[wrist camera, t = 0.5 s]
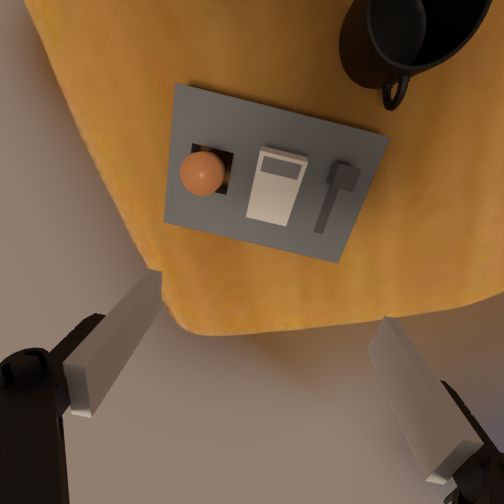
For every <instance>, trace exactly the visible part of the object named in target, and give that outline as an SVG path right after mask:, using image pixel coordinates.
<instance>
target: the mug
mask: <svg viewBox="0 0 504 504" xmlns="http://www.w3.org/2000/svg"><path fill="white" fill-rule="evenodd" d="M491 2H492V0H354V2H353V4H352V5H351V7H350V9H349V11H348V12H347V14H346V17H345V19H344V22H343V24H342V28H341V32H340V39H339V52H340V58H341V62H342V65H343V67H344V69H345V71H346V73H347V74H348V76H349V77H350V78H351V79H352V80H353V81H354V82H355V83H357V84H359V85H360V86H363V87H365V88H370V89H380V88H382V90H383V104H384V107H385V109H386V110H391V111H393V110H394V109H396V108H397V107H398V106H399V105H400V103H401V102H402V100H403V98H404V96H405V93H406V90H407V86H408V82H409V81H410V77H412V76H414V75H417V74H419V73H421V72H424V71H426V70H428V69H431V68H433V67H435V66H437V65H439V64H441V63H443V62H444V61H446V60H448V59H449V58H450V57H452V56H453V55H455V54H456V53H457V52H458V51H459V50H460V49H461V48H462V47H463V46H464V45H465V44H466V43H467V42H468V41H469V40H470V39H471V38H472V36H473V35H474V34H475V32H476V31H477V29H478V28H479V26H480V25H481V23H482V21H483V20H484V18H485V16H486V14H487V12H488V10H489V7H490V5H491ZM396 83H399V84H398V88H397V92H396V95H395V97H394V99H393V100H391V89H392V88H393V85H394V84H396Z"/></svg>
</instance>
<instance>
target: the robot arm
mask: <svg viewBox="0 0 504 504" xmlns="http://www.w3.org/2000/svg"><path fill="white" fill-rule="evenodd" d="M161 286H162V272H161V271H156V270H151V269H149V270H148V271H147V272H146V273H145V274H144V275H143V276H142V277H141V278H140V280H139V281H138V282H137V283H136V284H135V285H134V286H133V287H132V288H131V289H130V290H129V291H128V292H127V294H126V295H125V296H124V297H123V298H122V299H121V300H120V301H119V302H118V303H117V304H116V305H115V307H114V308H113V309H112V310H111V311H110V312H109V313H108V314H107V315H102V314H97V313H94V314H93V315H91V316H89V317H87V318H85V319H83V321H81V322H80V323H79V324H78V325H77V326H76V327H75V329H74V330H72V331H71V332H70V333H69V334H68V335H67V337H65V338H64V339H63V340H62V341H61V342H60V343H59V344H58V345H57V346H56V347H55V348H54V349H52V351H50V352H48V351H46V350H45V349H43V348H28V349H24V350H21V351H18V352H15V353H13V354H12V355H10V356H8V357H7V358H5V359H4V360H3V361H2V362H1V363H0V504H70V502H69V490H68V477H67V465H66V453H65V442H64V429H63V418H62V414H63V413H64V412H65V410H66V409H67V408H68V406H69V405H70V408H71V413H72V414H74V415H80V416H85V417H90V418H92V416H93V414H94V413H95V411H96V410H97V408H98V407H99V405H100V404H101V402H102V401H103V399H104V397H105V396H106V394H107V393H108V391H109V390H110V388H111V386H112V385H113V383H114V382H115V380H116V379H117V377H118V375H119V374H120V372H121V371H122V369H123V368H124V366H125V365H126V363H127V361H128V360H129V358H130V357H131V355H132V354H133V352H134V350H135V349H136V347H137V346H138V344H139V343H140V341H141V340H142V338H143V336H144V334H145V333H146V332H147V330H148V329H149V327H150V325H151V324H152V322H153V320H154V319H155V317H156V316H157V314H158V313H159V311H160V306H161ZM367 352H368V355H369V357H370V359H371V362H372V364H373V366H374V368H375V370H376V373H377V375H378V377H379V379H380V382H381V384H382V386H383V388H384V391H385V393H386V395H387V397H388V400H389V402H390V404H391V406H392V408H393V411H394V413H395V415H396V417H397V420H398V422H399V424H400V426H401V428H402V431H403V433H404V435H405V438H406V440H407V442H408V444H409V446H410V449H411V451H412V453H413V455H414V458H415V460H416V462H417V464H418V467H419V469H420V471H421V473H422V476H423V478H424V480H425V481H429V482H433V483H439V484H445V483H446V482H447V481H448V480H449V479H450V478H451V477H452V476H453V478H454V480H455V482H456V484H457V486H458V487H457V488H456V489H454V491H452V492H451V493H450V494H449V495H448V496H447V497H446V498H445V500H444V503H445V504H448V503H449V502H450V501H452V504H504V453H501V452H499V451H498V449H497V448H496V446H495V445H494V444H493V442H492V441H491V439H490V438H489V437H488V435H487V434H486V433H485V431H484V430H483V429H482V427H481V426H480V424H479V423H478V422H477V420H476V419H475V417H474V416H473V415H471V412H470V411H469V409H468V408H467V406H465V405H464V402H463V401H462V400H461V398H460V397H459V395H458V394H457V393H456V392H455V391H454V390H453V389H452V388H451V387H450V386H449V385H448V384H447V383H446V382H445V381H441V380H439V378H438V377H437V375H436V374H435V373H434V371H433V370H432V368H431V367H430V365H429V364H428V363H427V361H426V360H425V358H424V357H423V355H422V354H421V352H420V351H419V350H418V348H417V347H416V345H415V344H414V342H413V341H412V340H411V338H410V337H409V335H408V334H407V332H406V331H405V330H404V328H403V327H402V325H401V324H400V322H399V321H398V319H396V318H391V317H386V316H384V318H383V320H382V322H381V324H380V326H379V328H378V330H377V331H376V333H375V335H374V338H373V339H372V341H371V343H370V345H369V347H368V349H367Z"/></svg>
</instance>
